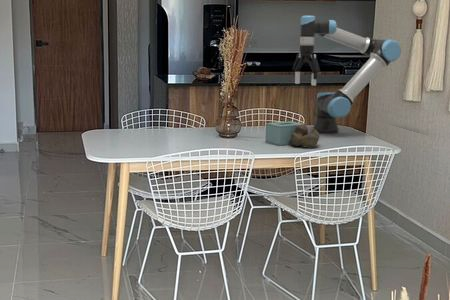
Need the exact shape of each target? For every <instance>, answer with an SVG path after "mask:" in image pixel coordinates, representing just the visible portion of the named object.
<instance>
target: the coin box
mask: <svg viewBox="0 0 450 300" xmlns="http://www.w3.org/2000/svg"><path fill="white" fill-rule="evenodd" d="M298 125H305V126H306V124H305V123H301V122H296V121H289V120H287V121H277V122H265V140H264V141H265V143H267V144H270V145H274V146H278V147H279V146H281V147H283V146H292V145H291V144H290V143H289V141H290V139H291V138H292V137H291V134H292V133H293V132H294V133H296V127H297V126H298Z"/></svg>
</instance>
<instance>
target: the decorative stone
mask: <svg viewBox="0 0 450 300" xmlns="http://www.w3.org/2000/svg"><path fill="white" fill-rule="evenodd" d="M291 137H292V138H291V139H290V141H289V143H290V144H291V145H290V146H293V147H299V146H301V147H302V146H303V147H304V148H307V149H313V148H315V147H316V146H317V145H318V142H319V140H320V133H318V132H317V131H316V130H315V129H313V128H312V129H311V130H310V131H309V130H308V127H307V125H306V124H305V125H298V126H297V127H296V133H294V132H293V133H292V134H291Z"/></svg>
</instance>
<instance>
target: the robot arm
mask: <svg viewBox="0 0 450 300" xmlns="http://www.w3.org/2000/svg"><path fill="white" fill-rule="evenodd" d="M315 35H317V36H319V37H323V38H325V39H328V40H331V41H333V42H336V43H338V44H341V45H343V46H346V47H349V48H352V49H355V50H358V51H359V52H360V53H361V54H363V55H365V56H368V57H369V58H368V60H366V62H365V63H364V64H363V65H362V66H361V68H360V69H359V70H358V71H357V72H355V74H354V75H353V76H352V77H351V78H350V80H349V81H348V82H347V83H346V84H345V85H344V86H343V87H342V88H340V89H337V90H336V91H333V92H331V91H329V92H328V91H327V92H318V93H317V94H316V106H315V107H316V108H315V109H316V112H315V114H316V115H315V121H314V123H313V126H312V129H315V130H316V131H317V132H318V133H319V134H325V135H327V134H328V135H330V134H339V131H340V128H339V125H338V121H337V119H342V118H345V117H346V116H348V115H349V113H350V111H351V107H352V105H353V104H354V100H355V98H356V97H357V96H358V95H359V94H360V93H361V92H362V91H363V89H364V88H365V87H366V86H367V85H368V84H369V83H370V82H371V80H373V78H374V77H376V75H377V74H378V72H380V71H381V69H383V68H385V69H386V68H387V67H388V66H390V63H392V62H395V61H397V60H398V59H399V58H400V57H401V54H402V47H401V45H400V43H399V42H398V41H396V40H394V39H392V38H391V39H376V38H371V37H368V36H367V37H363V36H361V35H358V34H356V33H352V32H350V31H347V30H344V29H341V28H339V27H338V26H337V22H336V20H334V19H316V16H315V15H302V16H301V17H300V35H299V36H300V38H299V44H300V45H299V52H300V53H297V54H296V58H295V59H294V60H295V61H294V63H293V66H292V71H294V84H296V85H298V84H300V83H301V81H300V80H301V69H302V67H303V65H305V63H307V64H308V66H309V67H310V69H311V71H312V73H311V83H310V84H311V86H317V79H318V73H320V72H321V69H320V65H319V62H318V55H317V54H316V53H314V52H315V46H314V45H315Z"/></svg>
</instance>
